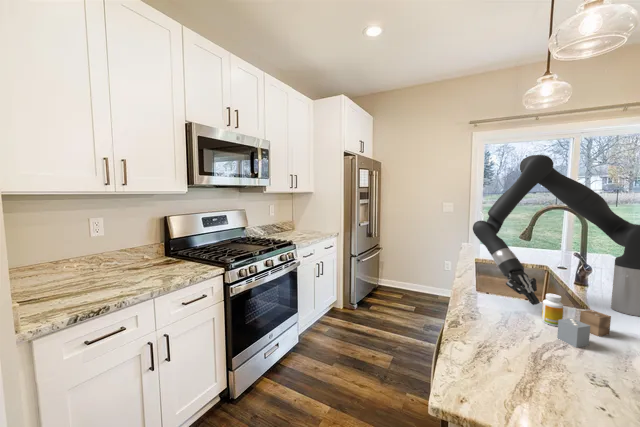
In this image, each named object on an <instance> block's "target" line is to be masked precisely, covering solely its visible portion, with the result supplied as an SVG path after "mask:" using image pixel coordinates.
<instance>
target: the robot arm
mask: <svg viewBox="0 0 640 427" xmlns="http://www.w3.org/2000/svg"><path fill="white" fill-rule="evenodd" d="M553 161H554V160H553V159H552V158H551V157H549V156H548V155H545V154H533V155H528V156H526V157H524V158H523V159H522V160H521V162H520V163H519V172H520V175H519V177H518V178H517V179H516V181H515V182H514V183H513V184H512V185H511V186H510V187H509V188H508V189H506V191H505V192H504V193H503V194H501V195H500V197H499V198H498V199H497V200H496V201H495V202H494V204H493V205H492V206H491V207H490V208H489V210H488V211H487V215H488V216H489V217H488V218H487V220H477V221H476V222H474V224H473V225H472V231H473V234H474V235H475V237H476V238H477V239H478V240H479V241H480V242H481V244H483V245H484V247H485V248H486V249H487V251H488V252H489V254H490V255H491V258H492V259H493V262H495V264H496V266H497V267H498V269H499V270H500V272H501V273H502V275H503V276H504V277H506V278H507V281H506V282H505V285H506V286H507V287H508V288H510V289H511V290H512V291H514V292H515V293H517V294H519V295H523V296H525V297H526V298H527V300H528V302H529V303H530V304H531V305H532V306H536V305H538V304H540V303H541V302H540V300H539V298H538V296H537V295H536V294H535V292H536V291H537V290H538V289H537V288H538V287H537V279H536V278H535V277H533V278H531V277H529V275H528V274H527V273H526V272H525V266H524V265H523V263H521V261H520V259H518V257H517V256H516V254H515V253H514V252H513V251H512V250H511V249H510V247H509V246H508V245H507V243H506V242H505V241H504V240H503V239H502V238H501V237H500V236H498V235H497V234H499V232H500V230H501V228H502V226H503V224H504V222H505V220H506V219H507V218H508V217H509V216H510V214H511V213H512V212H513V211H514V209H515V208H516V207H517V206H518V204H519V203H520V202H521V201H522V200H523V199H524V198H525V197H526V196H527V194H528V193H530V191H531V190H533V188H535V187H536V186H537V185H538V184H539V185H540V186H542V187H543V188H545V189H546V190H547V191H548V192H549V193H551V194H552V195H553V196H554V197H555V198H556V199H557V200H559V201H561V202H562V204H564V205H566V207H568V208H570V209H571V210H572V211H573V212H575V213H576V214H578V215H579V216H581V217H583V218H584V219H585V220H587V221H588V222H590V223H591V224H592V225H595V226H596V227H597V228H598V229H600V230H601V231H602V232H603V233H604V234H606V236H607V237H608V238H610V240H612V241H613V242H614V243H616V244H617V245H619V246H621V247H623V248H624V250H623V254H622V255H620V256H617V257H615V259H614V268H613V277H612V278H613V279H612V289H611V291H612V292H611V301H610V302H611V303H610V308H611V309H612V310H614V311H617V312H618V313H622V314H626V315H629V316H630V315H631V316H635V317H640V224H637V223H636V224H635V223H631V222H629V221H627V220H626V219H624V218H622V217H621V216H619V215H618V214H616V213H615V212H614V211H613V210H612V209H611V207H610V205H608V202H607V201H606V200H605V199H604V197H602V196H601V195H600V194H598V193H597V192H596V191H595V190H593V189H591V188H590V187H588V186H587V185H585V184H583V183H581V182H579V181H576V180H575V179H572V178H570V177H569V176H566V175H564V174H562V173H561V172H560V171H558V170H556V169H555V168H554V162H553Z"/></svg>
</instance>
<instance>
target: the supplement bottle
mask: <svg viewBox="0 0 640 427" xmlns="http://www.w3.org/2000/svg"><path fill="white" fill-rule="evenodd" d="M561 301H562V296H561V295H558V294H554V293H550V292H549V293H546V294H545V299H544V300H542V306H541V307H542V309H541V321H542V323H544V324H546V325H548V324H549V326H551V327H552V326H553V327H558V320H561V319H564V304H563V303H562V302H561Z"/></svg>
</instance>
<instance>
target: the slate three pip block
mask: <svg viewBox="0 0 640 427" xmlns="http://www.w3.org/2000/svg"><path fill="white" fill-rule="evenodd" d="M590 335H591V333H590V325H587V324H585V323H582V322H580V320H577V319H575V318H572V317H569V318H563V319H561V320H558V326H557V335H556V336H557V338H558V339H557V338H556V339H557V340H559V339H560V340H559V341H561V340H562V342H563V341H564V343H565V342H566V343H565V344H567V343H568V345H569V346H572V347H573V348H576V349H577V348H582V347H588V346H590V338H591V337H590Z"/></svg>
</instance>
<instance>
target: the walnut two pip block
mask: <svg viewBox="0 0 640 427" xmlns="http://www.w3.org/2000/svg"><path fill="white" fill-rule="evenodd" d="M611 321H612V316H611V315H608V314H605V313H602V312H599V311H596V310H593V309H587V310H580V313H579V322H582V323H585V324H587V325H590V335H593V336H596V337H598V336H599V337H603V335H605V336H610V334H611V333H610V332H611V323H612V322H611Z"/></svg>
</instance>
